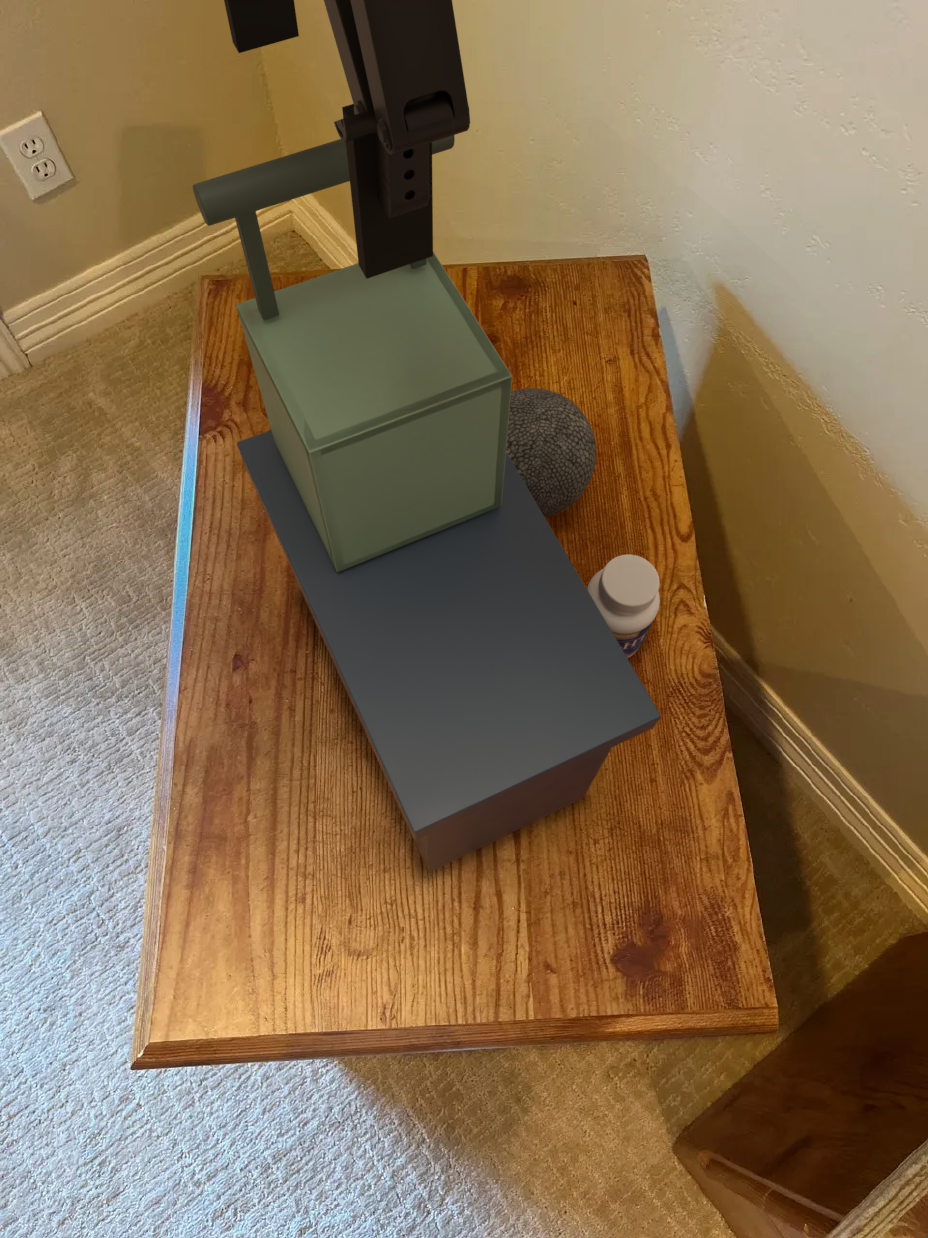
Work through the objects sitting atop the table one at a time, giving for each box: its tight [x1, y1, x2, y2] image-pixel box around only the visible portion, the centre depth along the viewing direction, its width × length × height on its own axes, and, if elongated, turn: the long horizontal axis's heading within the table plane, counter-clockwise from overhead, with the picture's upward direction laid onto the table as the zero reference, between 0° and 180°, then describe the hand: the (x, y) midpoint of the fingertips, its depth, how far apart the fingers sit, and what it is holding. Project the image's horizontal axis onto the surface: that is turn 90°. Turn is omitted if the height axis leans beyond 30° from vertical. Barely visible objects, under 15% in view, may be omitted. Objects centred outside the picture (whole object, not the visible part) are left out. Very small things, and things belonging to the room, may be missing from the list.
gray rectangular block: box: [236, 429, 662, 874], centre depth 61 cm, size 25×14×20 cm, turn 26°
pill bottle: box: [586, 554, 661, 659], centre depth 68 cm, size 5×5×9 cm
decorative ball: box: [506, 387, 597, 519], centre depth 73 cm, size 10×10×10 cm
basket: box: [192, 135, 513, 572], centre depth 46 cm, size 19×11×10 cm
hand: (326, 143), depth 38 cm, fingers open, 13 cm apart
